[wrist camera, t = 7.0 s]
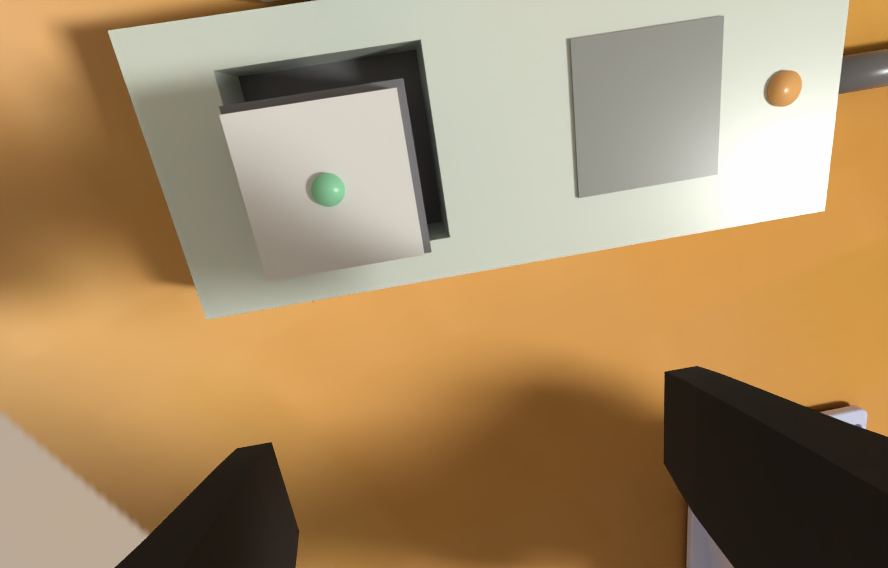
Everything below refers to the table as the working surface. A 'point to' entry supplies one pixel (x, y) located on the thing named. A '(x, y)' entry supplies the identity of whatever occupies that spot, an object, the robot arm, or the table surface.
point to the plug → (329, 178)
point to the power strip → (509, 122)
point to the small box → (268, 0)
